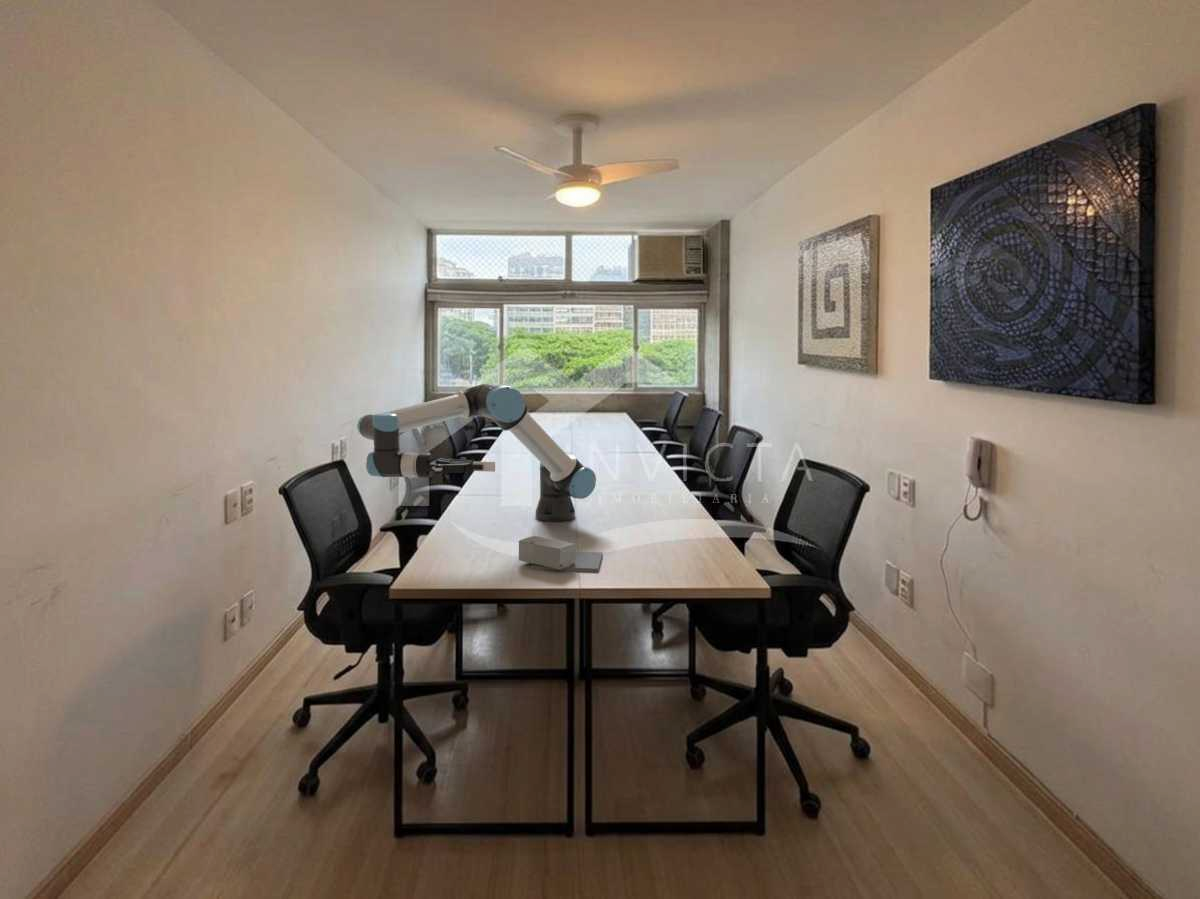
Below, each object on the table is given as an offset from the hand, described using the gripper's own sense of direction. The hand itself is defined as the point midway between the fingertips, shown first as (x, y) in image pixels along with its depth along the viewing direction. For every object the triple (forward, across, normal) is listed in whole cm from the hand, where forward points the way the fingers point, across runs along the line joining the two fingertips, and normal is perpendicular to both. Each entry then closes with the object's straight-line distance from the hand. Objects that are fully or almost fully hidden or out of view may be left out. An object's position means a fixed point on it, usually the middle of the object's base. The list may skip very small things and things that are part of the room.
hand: (494, 466), depth 218 cm
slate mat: (+22, 0, -29) cm, 37 cm away
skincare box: (+9, +1, -25) cm, 27 cm away
